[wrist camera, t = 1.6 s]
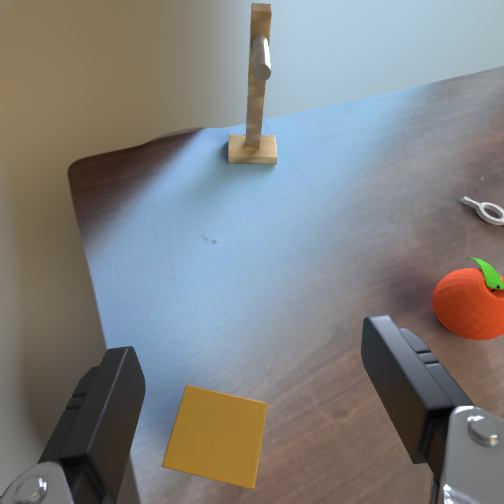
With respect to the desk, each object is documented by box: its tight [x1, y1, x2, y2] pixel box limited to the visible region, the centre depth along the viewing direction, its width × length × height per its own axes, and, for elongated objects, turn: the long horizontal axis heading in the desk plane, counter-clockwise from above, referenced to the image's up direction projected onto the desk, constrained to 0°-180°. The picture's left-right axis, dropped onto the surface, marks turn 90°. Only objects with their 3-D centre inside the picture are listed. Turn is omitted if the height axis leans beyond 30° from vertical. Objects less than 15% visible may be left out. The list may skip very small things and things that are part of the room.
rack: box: [228, 3, 277, 164], centre depth 38 cm, size 7×10×18 cm
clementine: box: [432, 258, 504, 340], centre depth 31 cm, size 8×7×7 cm
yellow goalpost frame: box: [162, 385, 268, 489], centre depth 21 cm, size 5×4×11 cm
